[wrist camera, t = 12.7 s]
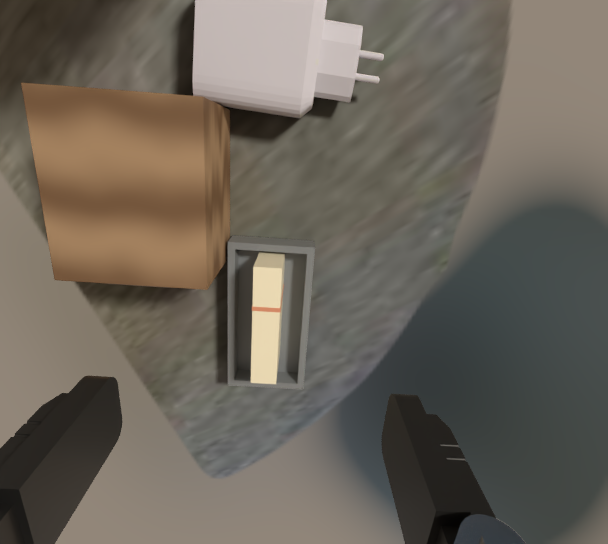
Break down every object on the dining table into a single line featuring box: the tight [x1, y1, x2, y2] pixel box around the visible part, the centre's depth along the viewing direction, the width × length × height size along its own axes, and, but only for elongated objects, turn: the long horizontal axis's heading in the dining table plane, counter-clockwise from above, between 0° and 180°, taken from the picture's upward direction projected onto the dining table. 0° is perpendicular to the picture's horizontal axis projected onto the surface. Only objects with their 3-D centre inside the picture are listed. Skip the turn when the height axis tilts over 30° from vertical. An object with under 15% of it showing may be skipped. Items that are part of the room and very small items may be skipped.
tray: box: [228, 235, 315, 389], centre depth 39 cm, size 16×8×3 cm, turn 176°
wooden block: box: [21, 83, 230, 290], centre depth 31 cm, size 15×12×10 cm
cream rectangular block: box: [251, 251, 285, 384], centre depth 36 cm, size 12×3×6 cm, turn 176°
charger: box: [193, 0, 384, 118], centre depth 30 cm, size 5×9×15 cm
